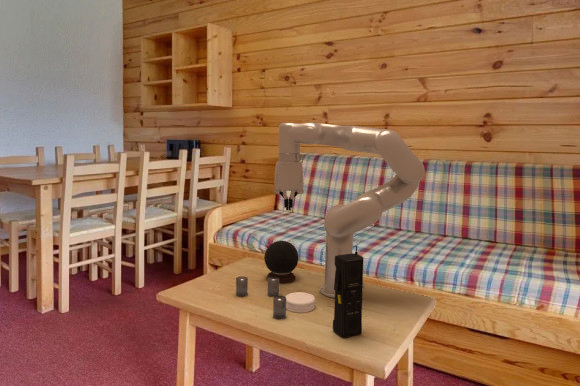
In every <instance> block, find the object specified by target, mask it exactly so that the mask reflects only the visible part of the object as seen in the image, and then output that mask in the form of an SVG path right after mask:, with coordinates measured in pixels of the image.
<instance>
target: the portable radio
mask: <svg viewBox="0 0 580 386" xmlns="http://www.w3.org/2000/svg"><path fill="white" fill-rule="evenodd" d="M335 266H336V271H335V282H334V290H335V298H334V307H333V308H334V309H333V311H334V314H333V319H332V330H333V332H334V333H335V334H336V335H338V336H339V337H340V338H343V339H344V338H348V337H352V336H356V335H361V334H362V332H363V331H362V330H363V326H362V325H363V321H362V320H363V319H362V316H363V288H362V287H363V283H364V280H363V277H364V256H362V255H360V254H359V253H358V246H357V245H355V252H354V253H353V252H352V253H351V254H344V255H337V256H335Z"/></svg>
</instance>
